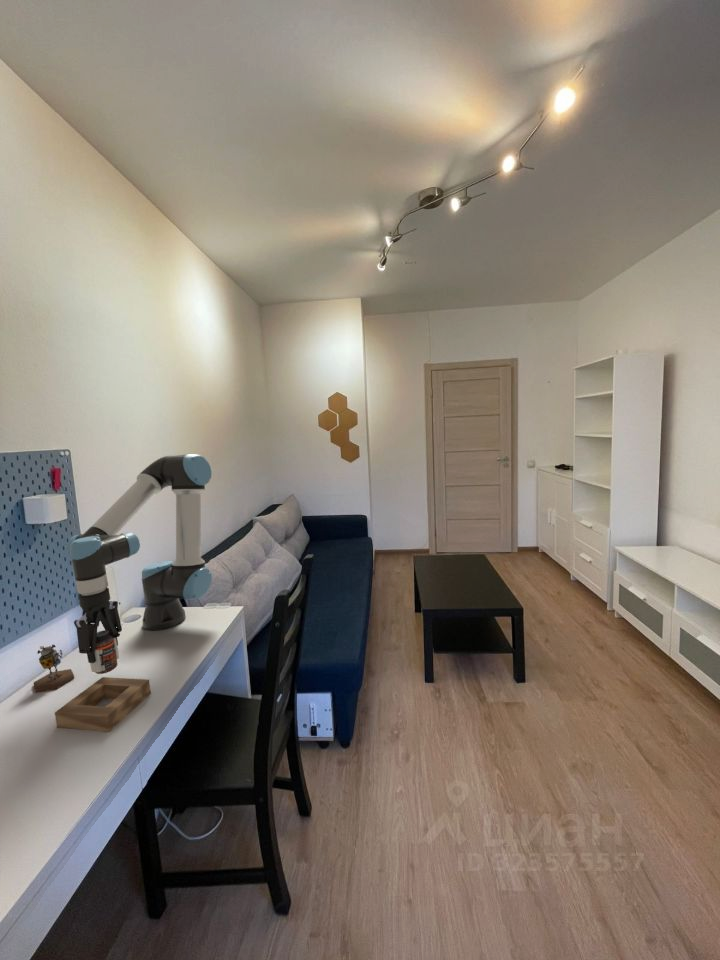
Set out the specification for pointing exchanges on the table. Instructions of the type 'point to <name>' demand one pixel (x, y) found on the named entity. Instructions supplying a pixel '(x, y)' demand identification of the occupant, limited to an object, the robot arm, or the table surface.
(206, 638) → the table surface
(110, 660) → the supplement bottle
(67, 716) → the socket block
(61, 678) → the robot figurine
